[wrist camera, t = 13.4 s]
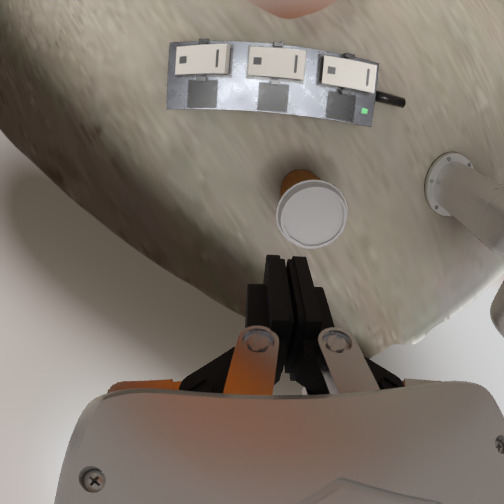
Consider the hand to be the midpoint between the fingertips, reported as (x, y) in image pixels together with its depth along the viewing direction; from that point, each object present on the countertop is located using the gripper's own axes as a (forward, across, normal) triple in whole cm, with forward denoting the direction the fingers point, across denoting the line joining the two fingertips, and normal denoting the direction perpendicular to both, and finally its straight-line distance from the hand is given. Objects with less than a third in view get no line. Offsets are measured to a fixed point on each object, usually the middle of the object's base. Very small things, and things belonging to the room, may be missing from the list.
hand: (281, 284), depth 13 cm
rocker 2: (+29, -1, -12) cm, 31 cm away
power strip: (+35, -4, -10) cm, 37 cm away
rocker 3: (+29, -10, -12) cm, 33 cm away
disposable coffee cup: (+35, -7, +7) cm, 37 cm away
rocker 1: (+29, +8, -12) cm, 32 cm away
